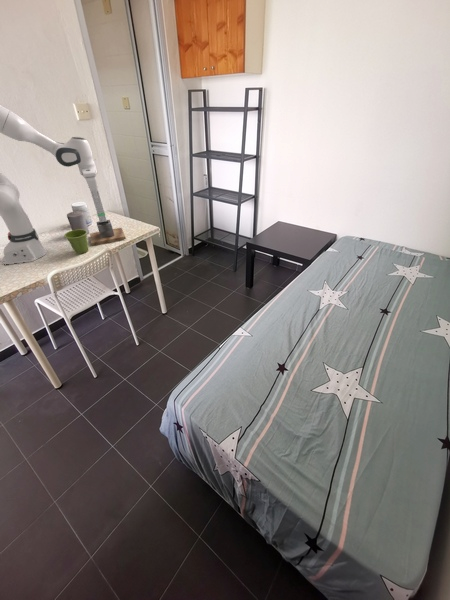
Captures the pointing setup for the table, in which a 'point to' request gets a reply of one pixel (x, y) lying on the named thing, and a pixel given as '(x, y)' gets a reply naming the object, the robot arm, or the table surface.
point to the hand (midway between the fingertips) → (95, 195)
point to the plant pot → (78, 240)
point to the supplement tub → (83, 208)
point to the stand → (106, 234)
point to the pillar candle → (77, 221)
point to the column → (99, 208)
